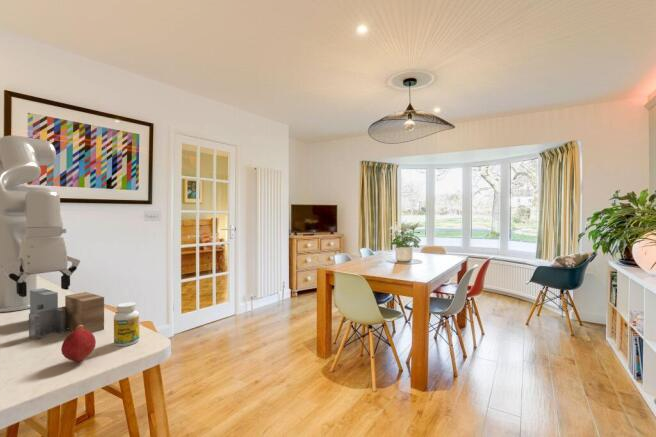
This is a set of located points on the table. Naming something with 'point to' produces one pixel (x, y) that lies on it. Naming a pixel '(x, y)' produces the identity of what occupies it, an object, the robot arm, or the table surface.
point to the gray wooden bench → (47, 322)
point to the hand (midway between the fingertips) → (44, 292)
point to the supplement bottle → (126, 324)
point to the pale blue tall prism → (43, 300)
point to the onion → (78, 344)
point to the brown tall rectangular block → (85, 311)
